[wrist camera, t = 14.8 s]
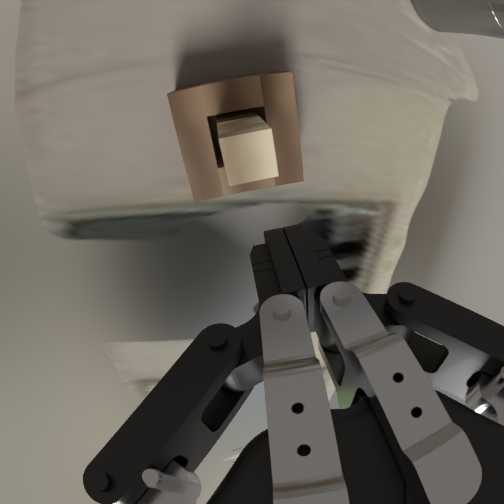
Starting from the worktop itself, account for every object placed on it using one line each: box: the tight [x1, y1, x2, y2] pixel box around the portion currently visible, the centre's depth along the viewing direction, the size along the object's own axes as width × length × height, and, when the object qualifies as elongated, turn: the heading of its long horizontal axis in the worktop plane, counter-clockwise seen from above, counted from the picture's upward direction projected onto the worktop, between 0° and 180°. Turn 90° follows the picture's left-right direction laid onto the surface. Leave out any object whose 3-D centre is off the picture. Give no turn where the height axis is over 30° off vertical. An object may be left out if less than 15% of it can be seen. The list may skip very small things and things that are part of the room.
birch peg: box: [216, 108, 279, 186], centre depth 26 cm, size 4×4×12 cm
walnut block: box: [167, 72, 304, 202], centre depth 29 cm, size 12×12×6 cm
